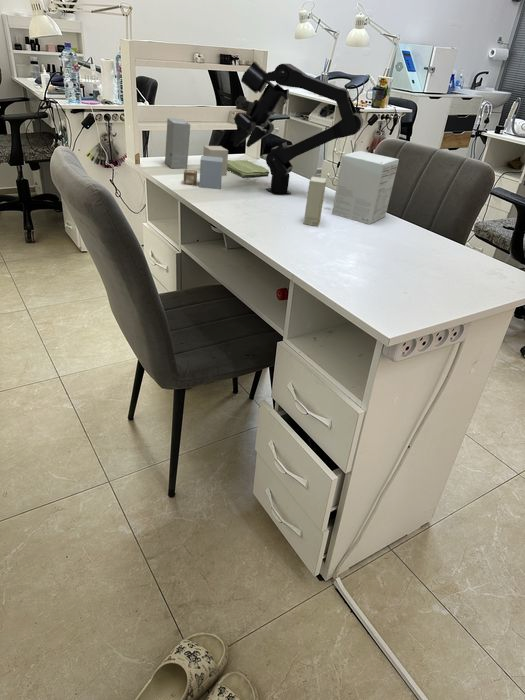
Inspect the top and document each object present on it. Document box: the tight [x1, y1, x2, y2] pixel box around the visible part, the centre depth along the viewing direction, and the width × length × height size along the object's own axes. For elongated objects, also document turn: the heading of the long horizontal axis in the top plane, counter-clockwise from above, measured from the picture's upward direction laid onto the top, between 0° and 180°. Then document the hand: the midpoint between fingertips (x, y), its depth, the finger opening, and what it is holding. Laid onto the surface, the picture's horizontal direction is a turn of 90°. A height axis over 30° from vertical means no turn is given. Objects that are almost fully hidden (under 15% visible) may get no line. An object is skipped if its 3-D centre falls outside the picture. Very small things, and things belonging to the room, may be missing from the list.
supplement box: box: [331, 150, 400, 225], centre depth 150 cm, size 13×13×18 cm
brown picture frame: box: [183, 169, 198, 187], centre depth 164 cm, size 4×4×4 cm
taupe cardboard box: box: [202, 145, 229, 176], centre depth 179 cm, size 7×7×9 cm
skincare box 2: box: [303, 176, 327, 227], centre depth 140 cm, size 6×4×12 cm
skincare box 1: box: [164, 117, 191, 170], centre depth 179 cm, size 8×7×16 cm
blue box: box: [199, 155, 223, 190], centre depth 163 cm, size 7×7×9 cm
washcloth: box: [227, 159, 270, 178], centre depth 187 cm, size 13×18×3 cm
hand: (241, 146), depth 163 cm, fingers open, 9 cm apart
